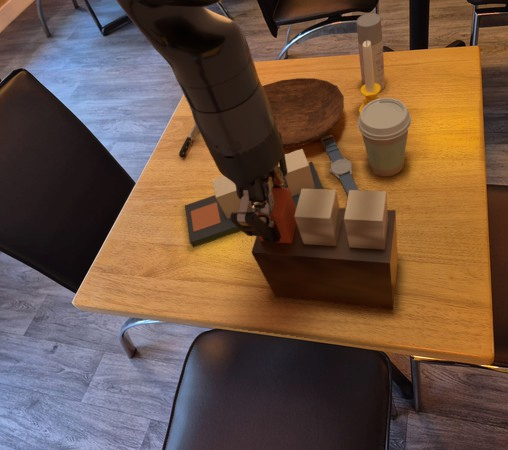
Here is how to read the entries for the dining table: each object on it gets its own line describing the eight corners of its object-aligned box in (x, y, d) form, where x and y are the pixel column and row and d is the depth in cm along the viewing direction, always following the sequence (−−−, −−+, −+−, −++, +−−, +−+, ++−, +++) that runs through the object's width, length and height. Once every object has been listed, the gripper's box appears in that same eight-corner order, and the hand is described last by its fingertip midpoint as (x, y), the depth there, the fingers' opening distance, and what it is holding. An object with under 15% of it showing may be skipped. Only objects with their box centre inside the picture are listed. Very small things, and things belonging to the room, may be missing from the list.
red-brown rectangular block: (298, 216, 60) (289, 187, 55) (291, 243, 57) (281, 216, 52) (268, 215, 61) (256, 186, 56) (260, 241, 58) (247, 214, 54)
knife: (206, 113, 99) (203, 106, 98) (209, 113, 99) (206, 106, 97) (182, 160, 91) (178, 153, 90) (185, 160, 91) (181, 154, 89)
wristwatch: (335, 133, 87) (334, 129, 86) (371, 206, 74) (371, 202, 74) (315, 140, 87) (314, 136, 86) (348, 214, 74) (347, 211, 74)
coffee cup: (417, 174, 77) (419, 121, 67) (370, 187, 77) (364, 137, 68) (402, 142, 82) (401, 89, 72) (357, 155, 82) (350, 103, 73)
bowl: (255, 98, 99) (249, 80, 95) (352, 94, 93) (349, 74, 89) (231, 162, 88) (223, 144, 84) (340, 162, 82) (336, 143, 78)
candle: (379, 121, 86) (374, 51, 74) (355, 116, 89) (346, 47, 76) (389, 104, 89) (386, 33, 76) (365, 100, 91) (359, 30, 79)
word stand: (397, 261, 67) (394, 179, 52) (393, 309, 63) (388, 234, 48) (286, 253, 72) (254, 176, 57) (275, 297, 68) (237, 225, 53)
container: (383, 94, 91) (379, 26, 79) (360, 94, 92) (353, 27, 81) (386, 79, 94) (383, 12, 82) (364, 80, 95) (358, 13, 83)
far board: (327, 200, 77) (320, 172, 71) (193, 247, 77) (175, 222, 71) (313, 167, 83) (305, 137, 77) (187, 210, 83) (170, 184, 77)
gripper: (225, 82, 50) (264, 182, 63) (180, 177, 42) (236, 268, 55) (288, 79, 47) (315, 183, 61) (253, 179, 40) (293, 273, 53)
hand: (277, 223), depth 58 cm, fingers closed on red-brown rectangular block, 4 cm apart
